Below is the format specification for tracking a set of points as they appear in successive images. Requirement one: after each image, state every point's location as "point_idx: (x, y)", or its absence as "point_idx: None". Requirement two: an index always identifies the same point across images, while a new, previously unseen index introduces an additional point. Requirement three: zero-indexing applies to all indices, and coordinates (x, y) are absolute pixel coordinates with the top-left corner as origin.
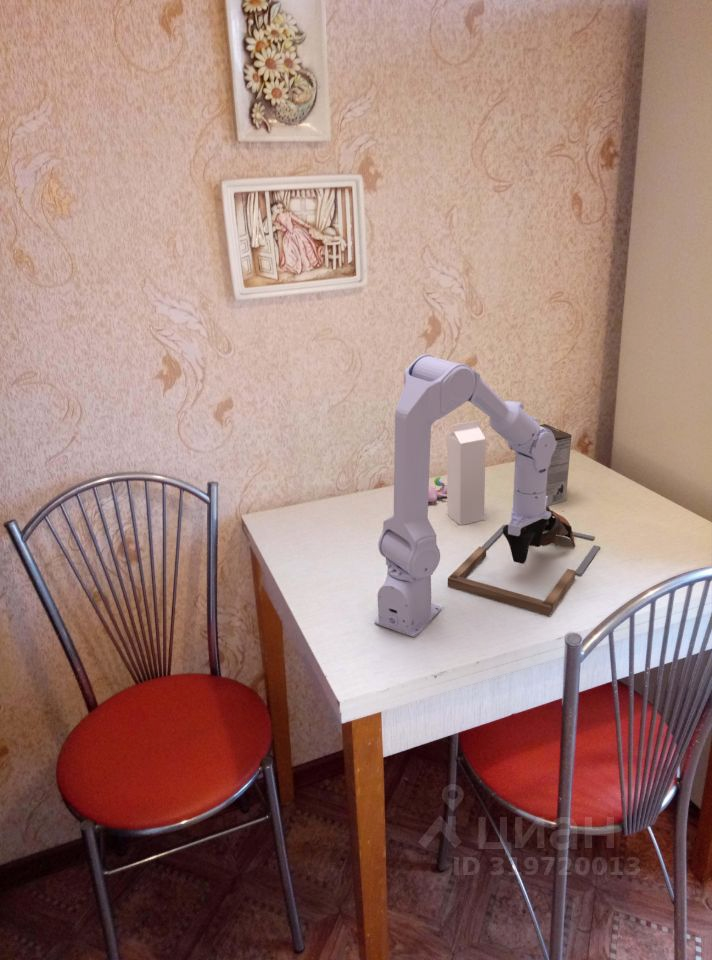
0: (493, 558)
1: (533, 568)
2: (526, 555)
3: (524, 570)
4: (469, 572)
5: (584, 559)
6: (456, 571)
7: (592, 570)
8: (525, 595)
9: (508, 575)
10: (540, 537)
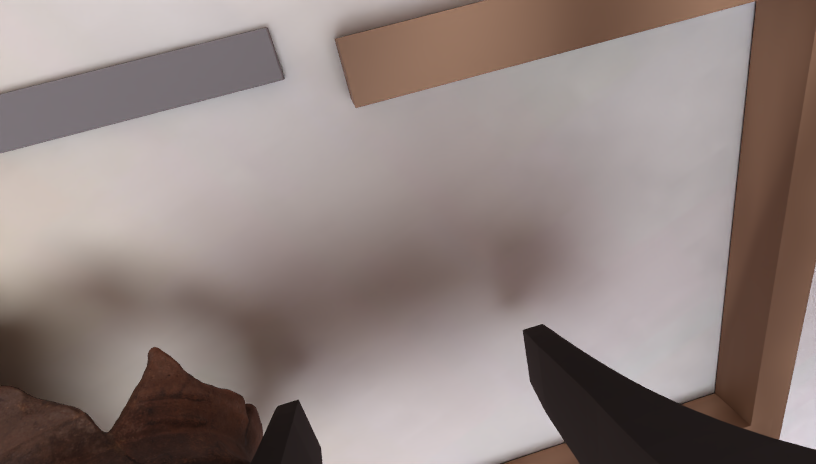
0: (450, 453)
1: (402, 293)
2: (577, 355)
3: (451, 309)
4: None
5: (51, 135)
6: None
7: (115, 5)
8: (804, 114)
9: None
10: (284, 460)
